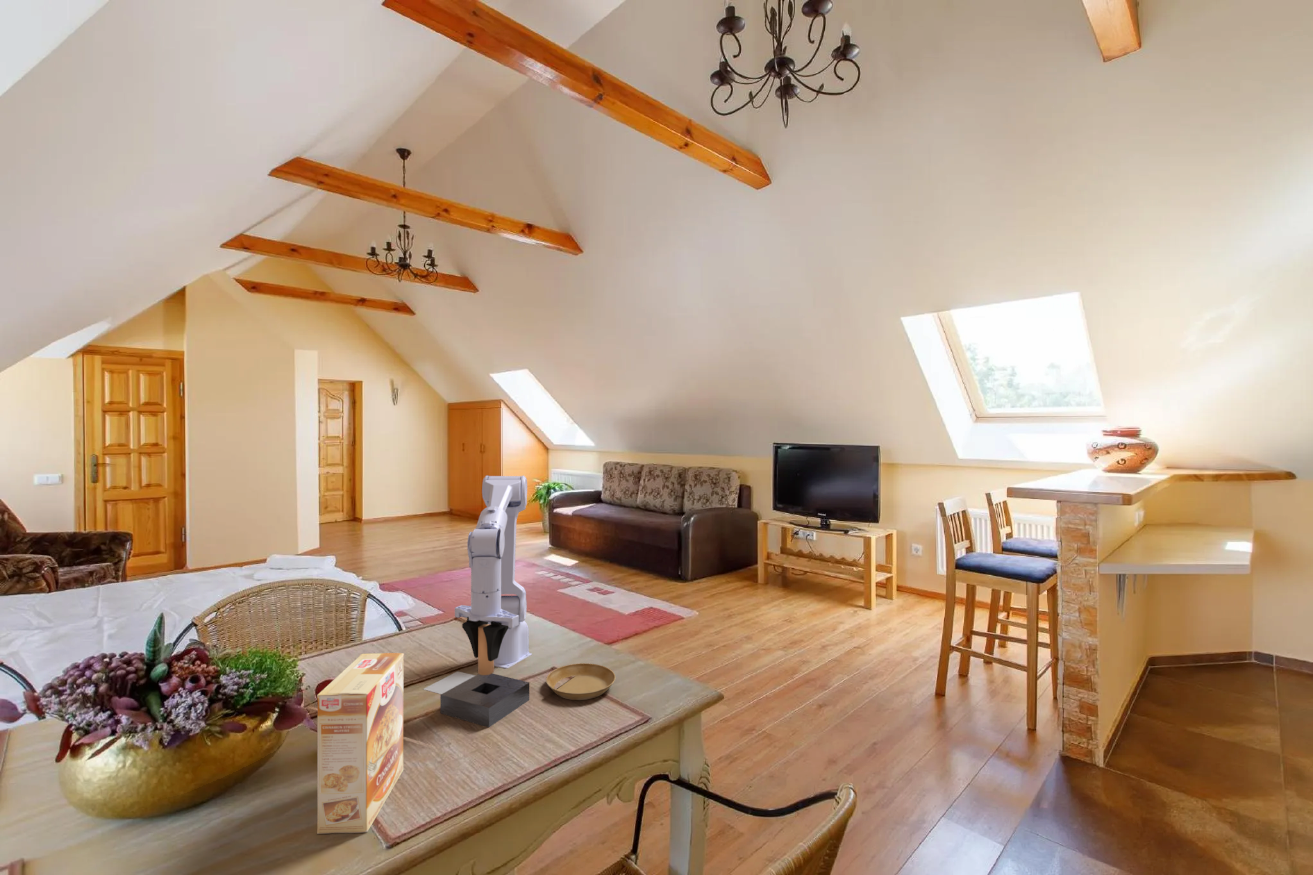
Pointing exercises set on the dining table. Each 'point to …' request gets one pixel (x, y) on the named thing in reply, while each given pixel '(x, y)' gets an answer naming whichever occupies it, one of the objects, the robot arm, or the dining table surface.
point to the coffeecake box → (359, 742)
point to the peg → (483, 654)
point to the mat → (449, 682)
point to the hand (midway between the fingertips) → (486, 657)
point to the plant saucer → (581, 681)
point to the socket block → (484, 699)
